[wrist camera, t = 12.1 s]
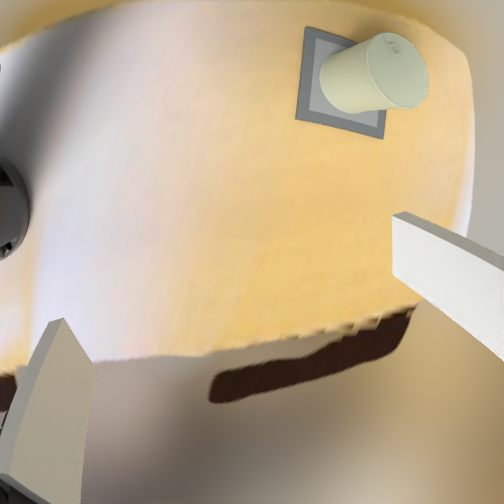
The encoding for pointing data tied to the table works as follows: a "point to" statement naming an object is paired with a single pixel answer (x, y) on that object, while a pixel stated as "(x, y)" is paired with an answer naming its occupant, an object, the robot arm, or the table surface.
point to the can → (375, 75)
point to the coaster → (312, 97)
